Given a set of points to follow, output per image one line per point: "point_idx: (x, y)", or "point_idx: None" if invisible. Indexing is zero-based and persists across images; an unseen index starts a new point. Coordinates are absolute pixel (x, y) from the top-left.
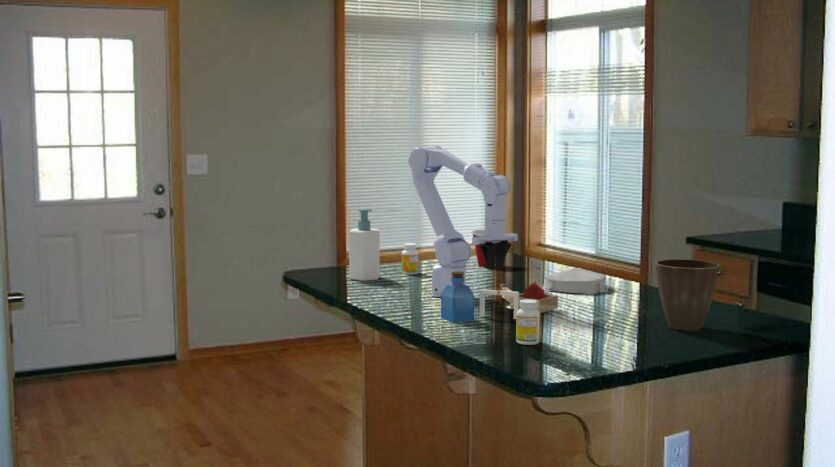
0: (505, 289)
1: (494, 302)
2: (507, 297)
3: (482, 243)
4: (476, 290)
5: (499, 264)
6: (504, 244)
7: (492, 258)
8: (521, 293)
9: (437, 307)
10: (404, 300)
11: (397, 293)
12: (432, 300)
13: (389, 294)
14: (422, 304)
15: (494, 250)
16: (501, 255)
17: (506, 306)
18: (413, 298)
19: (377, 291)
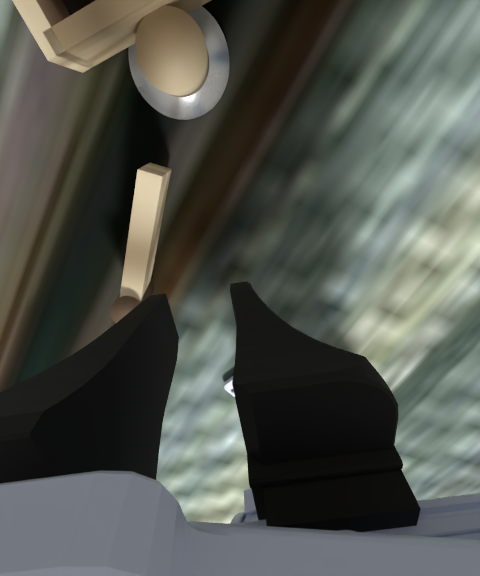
0: (148, 247)
1: (212, 232)
2: (164, 194)
3: (455, 502)
4: (172, 423)
5: (163, 321)
6: (50, 441)
7: (264, 313)
8: (133, 8)
9: (471, 237)
10: (464, 376)
11: (405, 452)
12: (393, 347)
13: (432, 449)
14: (470, 305)
15: (262, 356)
16: (132, 359)
17: (221, 91)
18: (419, 390)
19: (428, 482)
